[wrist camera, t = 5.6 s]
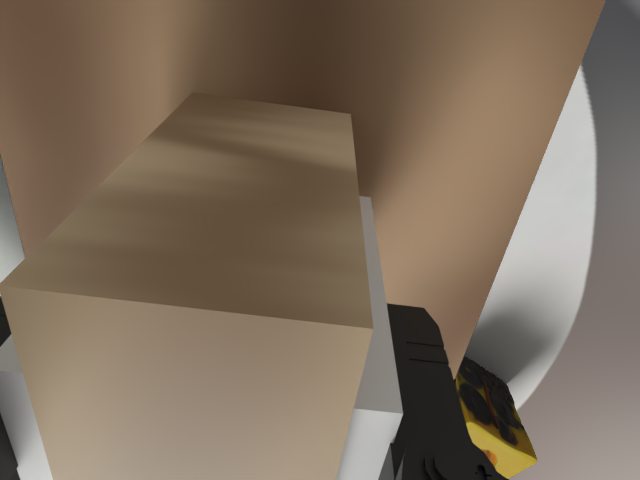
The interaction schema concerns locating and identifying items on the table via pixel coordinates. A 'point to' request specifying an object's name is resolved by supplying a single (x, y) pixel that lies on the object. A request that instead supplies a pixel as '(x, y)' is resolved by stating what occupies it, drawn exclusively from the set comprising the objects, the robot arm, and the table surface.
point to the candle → (493, 419)
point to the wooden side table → (255, 209)
